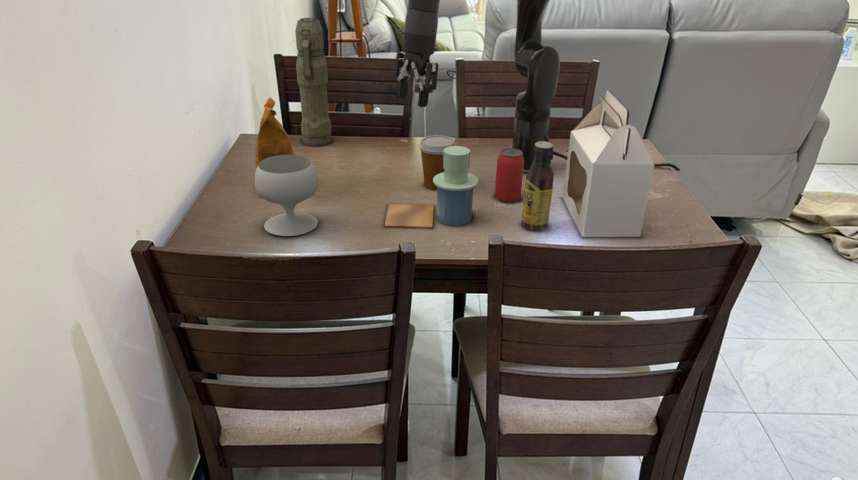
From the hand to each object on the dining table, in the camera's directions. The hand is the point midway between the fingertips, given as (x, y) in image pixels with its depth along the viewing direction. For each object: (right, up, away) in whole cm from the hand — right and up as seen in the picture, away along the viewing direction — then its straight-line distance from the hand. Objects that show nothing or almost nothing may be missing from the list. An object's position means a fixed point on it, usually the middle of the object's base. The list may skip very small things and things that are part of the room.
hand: (411, 102), depth 161 cm
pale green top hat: (+10, -22, -5) cm, 25 cm away
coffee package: (-35, -19, +13) cm, 42 cm away
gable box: (+45, -28, -1) cm, 53 cm away
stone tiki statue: (-29, -1, +44) cm, 53 cm away
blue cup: (+10, -28, -2) cm, 30 cm away
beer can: (+24, -22, +9) cm, 34 cm away
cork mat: (0, -28, -2) cm, 28 cm away
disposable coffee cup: (+6, -18, +15) cm, 24 cm away
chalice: (-28, -30, -6) cm, 42 cm away
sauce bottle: (+28, -30, -5) cm, 42 cm away
